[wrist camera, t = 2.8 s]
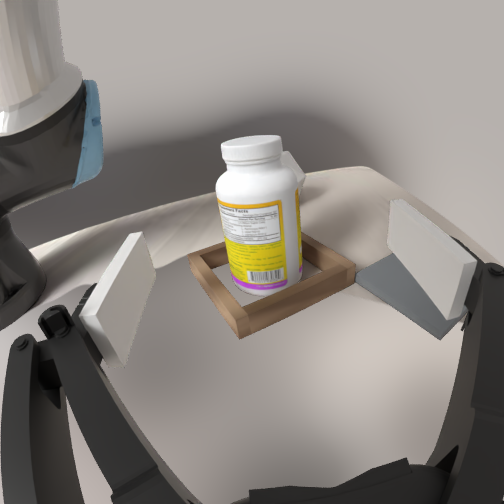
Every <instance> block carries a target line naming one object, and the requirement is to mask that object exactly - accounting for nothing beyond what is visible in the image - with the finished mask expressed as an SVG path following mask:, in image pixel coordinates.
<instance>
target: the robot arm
mask: <svg viewBox="0 0 504 504" xmlns="http://www.w3.org/2000/svg"><path fill="white" fill-rule="evenodd" d="M100 119H101V116H100V102H99V94H98V89H97V84H96V82H95V81H93V80H83V79H82V73H81V71H80V69H79V68H78V67H77V66H75V65H73V64H70V63H68V62H65V60H64V53H63V46H62V39H61V31H60V22H59V12H58V0H0V331H1V330H2V329H4V328H6V327H7V326H9V325H10V324H12V323H13V322H15V321H16V320H17V319H18V318H20V317H21V316H22V315H23V314H24V313H25V312H26V311H27V310H28V309H29V308H30V307H31V306H32V305H33V304H34V303H35V301H36V300H37V299H38V297H39V296H40V294H41V293H42V291H43V289H44V287H45V283H46V276H45V274H44V272H43V270H42V268H41V265H40V263H39V262H38V260H37V259H36V258H35V257H34V256H33V255H32V253H31V252H30V251H29V250H28V249H27V248H26V246H25V245H24V244H23V243H22V241H21V240H20V239H19V238H18V237H17V235H16V234H15V233H14V231H13V229H12V226H11V224H10V221H9V218H8V215H7V214H9V213H11V212H13V211H15V210H17V209H20V208H22V207H24V206H27V205H29V204H32V203H34V202H36V201H39V200H41V199H44V198H47V197H49V196H52V195H54V194H57V193H59V192H62V191H65V190H68V189H72V188H74V187H76V186H77V185H78V184H81V183H83V182H85V181H87V180H90V179H92V178H94V177H95V176H97V175H98V173H99V172H100V171H101V168H102V165H103V137H102V125H101V122H100ZM387 246H388V247H389V248H390V250H391V251H392V252H393V253H394V254H395V255H396V257H397V258H398V259H399V260H400V261H401V262H402V264H403V265H404V266H405V267H406V268H407V270H408V271H409V272H410V273H411V275H412V276H413V277H414V278H415V280H416V281H417V282H418V283H419V285H420V286H421V287H422V288H423V290H424V291H425V292H426V293H427V295H428V296H429V297H430V299H431V300H432V301H433V302H434V304H435V305H436V306H437V308H438V309H439V310H440V312H441V313H442V314H443V316H444V317H445V319H446V320H450V319H453V318H456V317H459V316H460V315H461V312H462V309H463V306H464V305H465V306H466V308H467V309H468V313H467V316H466V318H465V321H464V324H463V326H462V329H461V331H463V330H464V336H463V342H462V348H461V354H460V359H459V364H458V369H457V374H456V378H455V383H454V387H453V391H452V395H451V399H450V402H449V406H448V410H447V413H446V416H445V420H444V423H443V426H442V429H441V432H440V436H439V439H438V441H437V444H436V447H435V449H434V451H433V453H432V455H431V456H430V458H429V460H428V461H427V463H426V465H409V463H408V460H407V458H404V459H401V460H398V461H395V462H392V463H389V464H386V465H382V466H379V467H376V468H372V469H370V470H368V471H366V472H365V473H363V474H361V475H359V476H357V477H355V478H353V479H351V480H349V481H347V482H345V483H343V484H341V485H339V486H336V487H333V488H318V487H297V486H285V487H276V488H267V489H254V490H249V497H247V498H244V499H241V500H238V501H236V502H233V503H232V504H504V501H503V496H504V268H503V267H502V266H500V265H498V264H495V263H486V264H485V263H484V262H483V261H482V260H480V259H479V258H478V257H477V256H476V255H475V254H474V253H473V252H472V251H470V250H469V249H468V248H467V247H465V245H464V244H462V243H461V242H460V241H459V240H457V239H455V238H453V237H451V236H449V235H447V234H446V233H445V232H444V231H443V230H441V229H440V228H439V227H438V226H437V225H435V224H434V223H433V222H432V221H430V220H429V219H428V218H427V217H425V216H424V215H423V214H421V213H420V212H419V211H418V210H416V209H415V208H414V207H412V206H411V205H410V204H408V203H407V202H406V201H404V200H403V199H395V200H390V213H389V226H388V238H387ZM155 278H156V273H155V270H154V267H153V263H152V260H151V257H150V254H149V251H148V248H147V244H146V241H145V238H144V234H143V232H137V233H131V234H129V235H128V237H127V238H126V240H125V241H124V243H123V244H122V246H121V247H120V249H119V250H118V252H117V253H116V255H115V257H114V258H113V260H112V261H111V263H110V264H109V266H108V267H107V269H106V271H105V272H104V274H103V275H102V277H101V279H100V280H99V282H98V283H95V284H93V285H92V286H91V287H90V288H89V289H88V290H87V291H86V293H85V294H84V296H83V299H81V301H80V302H79V305H78V306H77V308H76V309H75V311H74V313H73V314H72V316H70V314H69V313H68V311H67V309H66V307H65V306H63V305H55V306H52V307H50V308H48V309H47V310H46V311H44V312H43V313H42V315H41V316H40V317H39V319H38V324H39V326H40V328H41V329H42V331H43V332H44V334H45V336H46V337H47V340H43V341H40V342H37V341H36V340H35V338H34V337H33V336H32V335H31V334H25V335H22V336H20V337H18V338H17V339H16V340H15V341H14V342H13V344H12V345H11V348H10V353H9V358H8V365H7V371H6V377H5V385H4V394H3V404H2V420H1V474H2V487H3V497H4V504H85V503H84V500H83V496H82V492H81V488H80V484H79V479H78V476H77V471H76V465H75V460H74V455H73V449H72V444H71V437H70V430H69V422H68V414H67V404H66V396H67V399H68V401H69V404H70V407H71V409H72V411H73V414H74V416H75V418H76V421H77V423H78V425H79V428H80V430H81V432H82V434H83V436H84V438H85V441H86V443H87V445H88V447H89V448H90V451H91V453H92V455H93V457H94V459H95V460H96V462H97V464H98V466H99V468H100V469H101V471H102V473H103V475H104V477H105V478H106V480H107V482H108V484H109V485H110V487H111V489H112V491H113V494H112V495H111V500H112V502H113V504H202V503H201V502H200V501H199V500H198V499H197V498H196V497H195V496H193V494H191V492H190V491H189V490H188V489H187V488H186V487H185V486H184V485H183V483H182V482H181V481H180V480H179V479H178V478H177V476H176V475H175V474H174V473H173V472H172V470H171V469H170V468H169V467H168V466H167V465H166V463H165V462H164V461H163V459H162V458H161V457H160V455H159V454H158V453H157V452H156V450H155V449H154V448H153V447H152V445H151V444H150V442H149V441H148V439H147V438H146V437H145V435H144V434H143V433H142V431H141V430H140V428H139V427H138V425H137V424H136V422H135V421H134V420H133V418H132V416H131V415H130V413H129V412H128V411H127V409H126V407H125V406H124V404H123V403H122V401H121V399H120V398H119V396H118V395H117V393H116V391H115V390H114V388H113V386H112V385H111V383H110V381H109V379H108V378H107V376H106V374H105V372H104V371H103V369H102V368H101V366H100V364H101V361H102V358H103V359H104V360H105V362H106V364H107V365H108V367H112V368H114V367H116V368H119V367H120V368H125V366H126V363H127V359H128V356H129V353H130V350H131V347H132V344H133V341H134V337H135V335H136V332H137V329H138V326H139V323H140V320H141V317H142V314H143V311H144V308H145V306H146V303H147V300H148V297H149V295H150V292H151V289H152V287H153V284H154V281H155ZM464 328H465V329H464Z"/></svg>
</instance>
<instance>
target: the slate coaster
mask: <svg viewBox="0 0 504 504" xmlns="http://www.w3.org/2000/svg"><path fill="white" fill-rule="evenodd" d="M354 281H355V282H357V283H358V284H360V285H361V286H362V287H364V288H365V289H367V290H368V291H370V292H371V293H373V294H374V295H376V296H377V297H379V298H380V299H382V300H383V301H384V302H386V303H387V304H389V305H390V306H392V307H393V308H395V309H396V310H398V311H399V312H400V313H402V314H403V315H405V316H406V317H408V318H409V319H410V320H412V321H413V322H415V323H416V324H418V325H419V326H420V327H422V328H423V329H425V330H426V331H427V332H429V333H430V334H432V335H433V336H434V337H436V338H437V339H439V340H441V339H442V338H443V337H444V336H445V335H446V334H447V333H448V332H449V331H450V330H451V329H452V328H453V327H454V326H455V324H457V322H458V321H459V320H460V319H461V318H462V317H463V316H464V315H465V314H466V313H467V311H468V309H467V308H466V306H465V305H464V306H463V309H462V312H461V315H460V316H459V317H456V318H453V319H450V320H446V319H445V317H444V316H443V314H442V313H441V312H440V310H439V309H438V308H437V306H436V305H435V304H434V302H433V301H432V300H431V299H430V297H429V296H428V295H427V293H426V292H425V291H424V290H423V288H422V287H421V286H420V285H419V283H418V282H417V281H416V280H415V278H414V277H413V276H412V275H411V273H410V272H409V271H408V270H407V268H406V267H405V266H404V265H403V264H402V262H401V261H400V260H399V259H398V258H397V257H396V255H395V254H394V253H392V254H391V255H389V256H387V257H385V258H383V259H381V260H380V261H378V262H376V263H374V264H372V265H370V266H368V267H367V268H365V269H363V270H361V271H359V272H357V273H355V279H354Z"/></svg>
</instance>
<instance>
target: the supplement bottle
mask: <svg viewBox="0 0 504 504" xmlns="http://www.w3.org/2000/svg"><path fill="white" fill-rule="evenodd" d="M221 149H222V158H223V159H224V160H225V162H226V163H227V171H226V172H225V173H224V174H222V175H221V176H220V178H219V179H218V181H217V183H216V195H217V200H218V206H219V211H220V216H221V222H222V227H223V232H224V238H225V243H226V249H227V254H228V259H229V264H230V269H231V275H232V279H233V282H234V283H235V285H236V286H237V287H238V288H239V289H240V290H241V291H243V292H245V293H248V294H251V295H256V296H269V295H272V294H274V293H276V292H279V291H281V290H283V289H285V288H288V287H290V286H292V285H294V284H297V283H298V282H299V280H300V278H301V276H302V245H301V226H300V210H299V193H298V181H297V177H296V174H295V173H294V172H293V170H292V169H290V168H289V167H288V166H285V165H283V164H281V159H280V157H281V155H282V153H281V152H282V151H283V150H282V142H281V137H280V136H276V135H259V136H248V137H242V138H237V139H233V140H229V141H226V142H224V143H222V144H221Z"/></svg>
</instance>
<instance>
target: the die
mask: <svg viewBox="0 0 504 504" xmlns="http://www.w3.org/2000/svg"><path fill="white" fill-rule="evenodd" d="M281 153H282V155H281V157H280V159H281V164H283V165H285V166H288V167H289V168H290V169H292V170H293V172H294V173H295V174H296V177H297V181H298V193H299V196H300V193H301V190H302V187H303V184H304V181H305V178H306V175H305V174H304V173H303V171H302V170H301V168H300V167H299V165H298V164H297V163H296V161H295V160H294V158H293V157H292V156H291V154H290V153H289V151H286V152H281Z"/></svg>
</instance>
